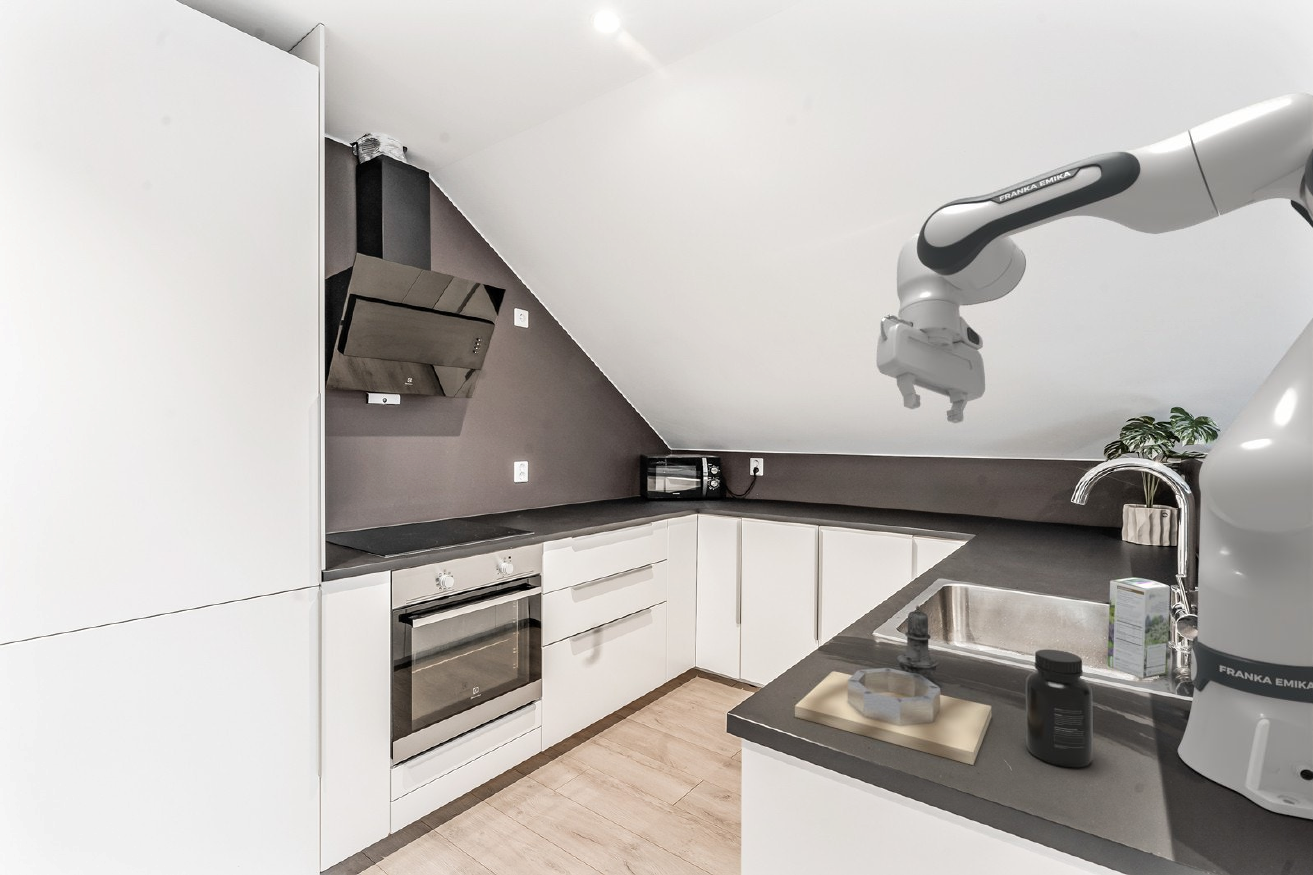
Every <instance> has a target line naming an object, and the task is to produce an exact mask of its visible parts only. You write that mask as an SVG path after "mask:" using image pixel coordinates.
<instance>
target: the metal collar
mask: <svg viewBox="0 0 1313 875" xmlns="http://www.w3.org/2000/svg"><path fill="white" fill-rule="evenodd" d="M883 692H890V693H895V694H899V695H903V696H908V698H895V697H891V696H886V695H882V694H878V693H883ZM940 695H941V687H940V686H938V685H937V684H936V685H935V684H934V683H932V682H931V681H929V680H928V679H926V678H925V677H923V676H922V675H919V674H914V673H909V672H905V671H902V670H900V669H895V668H890V667H883V668H880V667H879V668H869V669H857V671H855V673H853V676H852V677H851V678H850V679H849V680H848V703H849V704H850V705H851V706H852V707H854V708H855V709H856V710H857V711H858V712H859V713H860V714H861V715H862V716H864V717H867V718H871V719H874V720H878V721H882V722H886V723H890V724H894V725H898V726H906V725H917V724H927V723H933V722H934V720H935V718H936V716H937V715H938V713H939V711H940Z"/></svg>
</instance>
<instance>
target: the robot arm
mask: <svg viewBox="0 0 1313 875" xmlns="http://www.w3.org/2000/svg"><path fill="white" fill-rule="evenodd" d="M1272 199H1285V200H1290V205H1291V207H1292V209H1294V210H1295V212H1297V213H1298V214H1299V215H1300V216H1301V217H1302V218H1303V219H1304V220H1305V221H1306V222H1307V223H1308V224H1309V225H1310V226H1311V228H1312V229H1313V94H1309V93H1305V92H1293V93H1288V94H1283V95H1280V96H1277V97H1273V98H1270V99H1265V100H1263V101H1259V102H1257V103H1254V104H1250V105H1247V106H1244V107H1242V108H1239V109H1236V110H1234V111H1232V112H1228V113H1226V114H1223V115H1220V116H1218V117H1215V118H1212V119H1211V120H1208V121H1206V122H1203V123H1201V124H1199V125H1196V126H1194V127H1192V128H1190V129H1189V130H1188V129H1187V130H1186V131H1183V132H1180V133H1177V134H1175V135H1173V136H1171V137H1169V138H1166V139H1163V140H1161V141H1160V140H1159V141H1158V142H1154V143H1152V144H1148V145H1145V146H1141V147H1138V148H1134V149H1130V150H1129V149H1128V150H1124V151H1112V152H1110V151H1109V152H1105V153H1100V154H1097V155H1093V156H1090V157H1087V158H1083V159H1081V160H1077V161H1075V162H1072V163H1068V164H1066V165H1064V166H1060V167H1058V168H1055V169H1053V170H1050V171H1047V172H1045V173H1042V174H1041V173H1040V174H1039V175H1037V176H1034V177H1033V176H1032V177H1031V178H1029V179H1025V180H1023V181H1020V182H1017V183H1015V184H1012V185H1010V186H1007V187H1005V188H1001V189H999V190H996V191H993V192H990V193H987V194H982V195H976V196H971V197H963V198H959V199H955V200H952V201H950V202H947V203H945V204H944V205H941V206H939V207H938V208H937V209H935V210H934V211H933V212H932V213H930V215H929V216H928V217H927V219H926V220H925V221H924V222H923V225H922V226H921V228H920V230H919V232H918V233H916V234H914V235H913V236H911V237H910V238H909V239H907V240H906V242H904V244H903V245H902V247H901V249H900V251H899V255H898V259H897V264H896V265H897V266H896V292H897V293H896V294H897V297H898V299H899V304H900V306H899V309H898V315H897V316H896V315H893V314H889V315H886V316H884V317H882V319H881V320H880V322H879V326H880V332H879V335H878V338H877V339H878V340H877V345H876V346H877V347H876V367H877V369H878V371H879V373H880V374H882V375H885V376H888V377H891V378H894V379H896V386H897V388H898V389H899V391H900V393H901V395H902V397H903V407H905V408H908V409H910V410H915V409H918V408H920V407H921V405H922V404H921V396H920V394H917V392H916V389H915V387H918V388H919V387H920V388H922V389H925V390H927V391H931V392H934V393H936V394H939V395H942V396H945V397H948V398H949V403H951V408H950V410H946V416H947V417H946V418H947V421H948V422H950V423H953V424H960V423H963V421H964V410H965V408H966V407H967V406H966V405H967V404H968V403H969V402H971V401H975V400H977V399H981V398H982V397H983V395H984V394H985V391H986V376H985V375H986V374H985V365H984V359H983V357H982V354H981V353H980V351H979V350H981V349H982V348H983V346H984V345H983V344H984V341H983V337H981V335H980V334H979V333H977V332H976V331H975V330H974V329H973V328H972V327H971V326H970V325H969V324H968V323H967V322H966V320H965V319H964V318H963V316H961V315H960V307H961V306H972V305H978V304H982V303H983V304H984V303H987V302H992V301H996V300H998V299H1001V298H1003V297H1005V296H1006V295H1008V294H1009V293H1011V292H1012V291H1013V290H1014V289H1015V288H1016V287H1017V286H1018V285H1019V284H1020V282H1021V280H1022V279H1023V276H1024V274H1025V271H1026V268H1027V266H1026V265H1027V262H1026V261H1027V260H1026V255H1025V253H1024V252H1023V250H1022V249H1021V248H1020V247H1019V246H1018V245H1017V243H1016V242H1015V241H1014V240H1013V239H1012V238H1011V237H1012V236H1013V235H1014V236H1015V235H1016V234H1019V233H1022V232H1025V231H1028V230H1031V229H1035V228H1037V227H1040V226H1043V225H1047V224H1050V223H1053V222H1055V221H1058V220H1062V219H1064V218H1065V219H1066V218H1069V217H1081V216H1082V217H1083V216H1084V217H1094V218H1099V219H1103V220H1107V221H1110V222H1114V223H1117V224H1118V225H1119V224H1120V225H1121V226H1124V227H1125V228H1128V229H1131V230H1133V231H1136V232H1139V233H1144V234H1151V235H1160V234H1163V233H1164V234H1165V233H1170V232H1175V231H1180V230H1184V229H1186V228H1191V227H1193V226H1196V225H1199V224H1201V223H1206V222H1207V221H1209V220H1212V219H1215V218H1218V217H1220V216H1223V215H1225V214H1229V213H1231V212H1234V211H1237V210H1239V209H1242V208H1244V207H1247V206H1250V205H1253V204H1256V203H1259V202H1263V201H1267V200H1272ZM1219 215H1220V216H1219ZM1010 236H1011V237H1010ZM1198 486H1199V491H1200V513H1199V514H1200V517H1199V520H1200V522H1199V547H1198V548H1199V551H1198V552H1199V553H1198V579H1197V582H1198V583H1197V587H1198V588H1197V590H1198V591H1197V635H1196V636H1195V637H1193V639H1192V648H1190V680H1191V682H1192V686H1193V694H1192V695H1193V696H1192V701H1191V707H1190V713H1189V717H1188V720H1187V724H1186V728H1185V731H1184V733H1183V736H1182V738H1181V742H1180V744H1179V745H1178V748H1177V753H1178V756H1179V758H1181V760H1182V761H1183V762H1184V763H1185V764H1186V765H1187V766H1189V767H1190V768H1191V769H1193V770H1194V771H1195V772H1197V773H1199V774H1201V775H1202V776H1204V777H1206V778H1208V779H1210V780H1211V781H1214V782H1216V783H1217V784H1219V785H1222V786H1224V787H1227V788H1229V789H1231V790H1234V791H1236V792H1237V793H1240V794H1241V795H1243V796H1245V797H1246V798H1247V799H1249V800H1251V801H1252V802H1254V803H1255V804H1256V805H1258V806H1260V807H1262V808H1264V809H1266V810H1269V811H1271V812H1274V813H1277V814H1283V815H1286V816H1287V815H1289V816H1293V817H1298V818H1303V819H1310V820H1313V317H1312V318H1311V319H1310V321H1309V322H1308V324H1307V325H1306V326H1305V327H1304V329H1303V330H1302V332H1301V333H1300V334H1299V335H1298V337H1296V340H1294V342H1293V343H1292V345H1291V346H1290V347H1289V348H1288V350H1287V351H1286V352H1285V354H1284V355H1283V356H1282V357H1281V358H1280V360H1279V361H1278V362H1277V364H1276V365H1275V366H1274V367H1273V369H1272V370H1271V371H1270V373H1269V375H1268V376H1267V377H1266V379H1265V380H1264V381H1263V383H1262V384H1261V385H1260V387H1259V388H1257V390H1256V392H1255V393H1254V394H1253V395H1252V397H1251V398H1250V399H1249V401H1248V402H1247V403H1246V405H1245V406H1244V407H1243V408H1242V410H1241V411H1240V412H1239V414H1238V415H1237V416H1236V418H1235V419H1234V420H1233V421H1232V423H1231V424H1230V425H1229V427H1228V428H1227V429H1226V431H1225V432H1224V433H1223V435H1222V436H1221V437H1220V438H1219V440H1218V441H1217V442H1216V444H1214V446H1213V447H1212V448H1211V450H1209V452H1208V453H1207V455H1206V456H1205V458H1204V460H1203V462H1202V463H1201V466H1200V469H1199V473H1198Z"/></svg>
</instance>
